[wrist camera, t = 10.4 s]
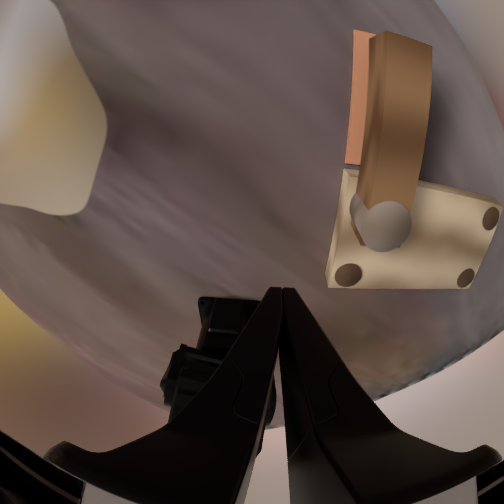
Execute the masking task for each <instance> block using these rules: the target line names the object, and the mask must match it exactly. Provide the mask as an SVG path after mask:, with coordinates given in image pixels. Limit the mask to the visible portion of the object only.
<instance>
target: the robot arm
mask: <svg viewBox="0 0 504 504" xmlns="http://www.w3.org/2000/svg"><path fill="white" fill-rule="evenodd" d="M202 301H203V302H202ZM255 305H257V306H255ZM198 307H199V313H200V318H201V324H202V328H201V332H200V336H199V339H198V343H197V347H196V348H192V347H188V346H187V345H185V344H181V346H180V348H179V350H177V351H176V352H173V354H172V357H171V361H170V364H169V366H168V368H167V370H166V372H165V374H164V376H163V378H162V380H161V383H160V387H161V389H162V391H163V392H164V398H165V399H164V405H165V406H168V407H171V410H170V415H169V420H168V423H167V424H166V425H165V426H163V427H162V428H160V429H158V430H156V431H154V432H152V433H150V434H148V435H146V436H143V437H141V438H139V439H137V440H135V441H132V442H130V443H128V444H125V445H123V446H121V447H118V448H116V449H113V450H110V451H107V452H100V453H97V452H90V451H87V450H84V449H82V448H80V447H78V446H76V445H74V444H71V443H69V442H66V441H62V442H61V443H59V444H57V445H55V446H53V447H52V448H50V449H49V450H48V451H47V452H46V453H45V454H44V456H43V458H42V457H41V456H39V455H38V454H36V453H35V452H33V451H32V450H30V449H29V448H27V447H25V446H24V445H22V444H21V443H20V442H18V441H17V440H15V439H13V438H12V437H10V436H9V435H7V434H6V433H4V432H3V431H2V430H0V504H244V501H245V497H246V494H247V489H248V486H249V482H250V478H251V474H252V471H253V466H254V462H255V458H256V457H257V455H258V454H259V453H260V452H261V449H262V442H263V435H264V430H265V426H268V425H269V424H270V423H271V421H272V419H273V416H274V412H275V408H276V388H275V380H274V370H275V365H276V359H277V353H278V347H279V361H280V372H281V383H282V395H283V407H284V419H285V432H286V445H287V457H288V458H287V459H288V473H289V489H290V504H504V460H503V461H501V460H502V457H501V455H500V454H499V452H497V451H496V450H495V449H493V448H492V447H490V446H488V445H482V446H480V447H477V448H476V449H473V450H471V451H468V452H463V453H462V452H454V451H450V450H447V449H444V448H442V447H439V446H436V445H433V444H431V443H429V442H426V441H424V440H421V439H419V438H417V437H414V436H412V435H410V434H407V433H405V432H403V431H402V430H400V429H399V428H397V427H396V426H395V425H394V424H393V423H391V422H390V420H389V419H388V418H387V417H386V416H385V415H384V413H383V412H382V411H381V410H380V409H379V408H378V406H377V405H376V404H375V403H374V402H373V400H372V399H371V398H370V397H369V396H368V394H367V393H366V392H365V391H364V390H363V388H362V387H361V386H360V385H359V383H358V382H357V381H356V379H355V378H354V377H353V375H352V374H351V372H350V371H349V369H348V368H347V366H346V365H345V363H344V362H343V360H341V357H340V356H339V354H338V353H337V351H336V349H335V348H334V346H333V345H332V343H331V342H330V340H329V339H328V337H327V336H326V334H325V333H324V331H323V330H322V328H321V327H320V325H319V324H318V322H317V321H316V319H315V318H314V316H313V315H312V313H311V312H310V310H309V309H308V307H307V306H306V304H305V303H304V301H303V300H302V298H301V297H300V295H299V294H298V292H297V291H296V289H295V288H286V287H284V288H283V289H282V288H281V287H270V288H269V289H268V291H267V292H266V294H265V295H264V297H263V299H262V300H261V302H259V301H252V300H236V299H222V298H210V297H200V298H199V300H198ZM500 461H501V462H500ZM83 481H84V482H83Z"/></svg>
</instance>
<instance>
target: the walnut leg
mask: <svg viewBox="0 0 504 504" xmlns="http://www.w3.org/2000/svg"><path fill="white" fill-rule="evenodd" d="M431 82H432V46H430V45H427V44H425V43H422V42H419V41H417V40H414V39H411V38H408V37H405V36H402V35H399V34H396V33H392V32H389V31H385V32H383V33H380V34H378V35H376V36H373V37H371V38H369V70H368V91H367V105H366V117H365V128H364V137H363V146H362V154H361V161H360V169H359V176H358V182H357V188H356V193H355V194H354V195H353V197H352V199H351V202H350V207H349V210H350V215H351V222H350V224H351V226H352V228H353V230H354V233H355V235H356V237H357V239H358V241H359V243H360V245H361V246H367V247H368V248H370V249H371V250H373V251H376V252H388V251H391V250H394V249H396V248H400V246H401V245H402V244H403V243H404V241H405V240H406V239H407V237H408V236H409V234H410V231H411V227H412V220H411V215H410V212H411V208H412V204H413V200H414V196H415V192H416V187H417V183H418V178H419V174H420V169H421V164H422V158H423V152H424V147H425V140H426V133H427V126H428V118H429V108H430V97H431Z"/></svg>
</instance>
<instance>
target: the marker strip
mask: <svg viewBox="0 0 504 504" xmlns="http://www.w3.org/2000/svg"><path fill="white" fill-rule="evenodd" d="M373 36H376V35H375V34H371V33H367V32H363V31H358V30H354V44H353V75H352V92H351V106H350V118H349V128H348V138H347V147H346V155H345V163H348V164H356V165H360V161H361V154H362V146H363V137H364V128H365V117H366V105H367V91H368V70H369V38H371V37H373Z"/></svg>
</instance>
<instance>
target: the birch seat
mask: <svg viewBox="0 0 504 504" xmlns="http://www.w3.org/2000/svg"><path fill="white" fill-rule="evenodd" d="M358 176H359V170H354V169H346V168H344V171H343V178H342V185H341V191H340V198H339V204H338V210H337V216H336V221H335V227H334V232H333V238H332V243H331V248H330V253H329V258H328V263H327V267H326V272H325V275H326V279H327V284H328V287H329V288H366V289H469V287H470V285H471V283H472V281H473V279H474V277H475V275H476V273H477V271H478V269H479V267H480V265H481V263H482V261H483V258H484V256H485V254H486V252H487V249H488V247H489V245H490V242H491V240H492V237H493V235H494V232H495V230H496V227H497V224H498V221H499V219H500V216H501V213H502V210H503V207H504V206H502V205H501V204H500V203H499V202H497V201H496V200H495V199H494V198H492V197H489V196H485V195H482V194H478V193H474V192H471V191H467V190H463V189H459V188H454V187H450V186H446V185H441V184H437V183H432V182H427V181H422V180H418V183H417V187H416V192H415V196H414V200H413V204H412V208H411V212H410V215H411V220H412V227H411V231H410V234H409V236H408V237H407V239H406V240H405V241H404V243H403V244H402V245H401V246H400V248H396V249H394V250H391V251H388V252H376V251H373V250H371V249H370V248H368V247H367V246H361V245H360V243H359V241H358V239H357V237H356V235H355V233H354V230H353V228H352V226H351V224H350V222H351V215H350V210H349V207H350V202H351V199H352V197H353V195H354V194H355V193H356V188H357V182H358Z"/></svg>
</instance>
